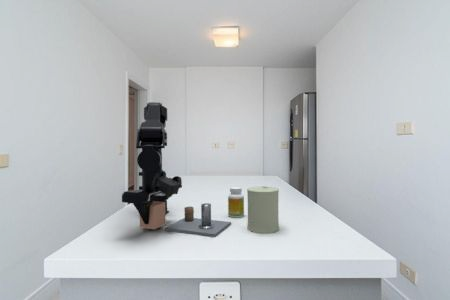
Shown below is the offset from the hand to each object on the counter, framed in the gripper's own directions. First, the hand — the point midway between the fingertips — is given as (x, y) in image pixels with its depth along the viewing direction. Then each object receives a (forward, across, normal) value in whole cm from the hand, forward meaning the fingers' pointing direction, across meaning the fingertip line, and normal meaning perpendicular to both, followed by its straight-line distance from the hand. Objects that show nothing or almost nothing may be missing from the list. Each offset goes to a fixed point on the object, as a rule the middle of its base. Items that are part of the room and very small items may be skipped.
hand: (152, 221), depth 77 cm
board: (+2, +6, -12) cm, 14 cm away
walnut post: (+2, +9, -7) cm, 12 cm away
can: (+2, +12, -30) cm, 32 cm away
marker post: (+2, +5, -15) cm, 16 cm away
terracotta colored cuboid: (+1, 0, 0) cm, 1 cm away
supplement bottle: (+2, +22, -18) cm, 29 cm away
